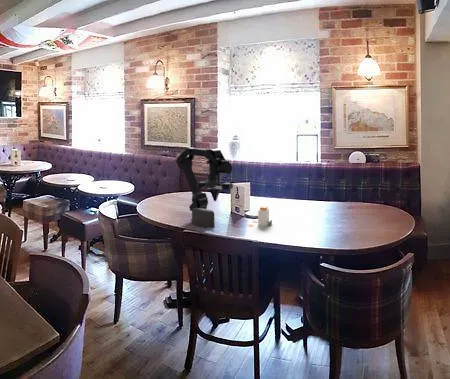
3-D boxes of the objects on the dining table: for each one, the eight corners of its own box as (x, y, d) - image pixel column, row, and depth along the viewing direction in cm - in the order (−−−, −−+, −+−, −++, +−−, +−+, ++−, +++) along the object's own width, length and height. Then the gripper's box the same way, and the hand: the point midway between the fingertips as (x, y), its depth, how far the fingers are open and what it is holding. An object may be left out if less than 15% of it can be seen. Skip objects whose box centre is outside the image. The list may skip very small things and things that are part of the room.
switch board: (239, 227, 213) (239, 220, 212) (246, 222, 223) (246, 216, 222) (267, 230, 207) (267, 223, 206) (273, 225, 217) (273, 218, 216)
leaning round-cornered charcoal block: (218, 228, 212) (218, 210, 210) (212, 230, 208) (212, 212, 207) (197, 223, 222) (197, 206, 221) (191, 225, 219) (191, 208, 217)
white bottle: (258, 225, 212) (258, 207, 210) (260, 223, 216) (261, 205, 214) (266, 226, 210) (266, 208, 208) (268, 223, 214) (269, 206, 213)
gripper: (192, 173, 211) (192, 202, 213) (224, 175, 203) (225, 205, 206) (201, 171, 221) (202, 198, 224) (233, 172, 213) (233, 201, 216)
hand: (215, 201), depth 217 cm, fingers closed
